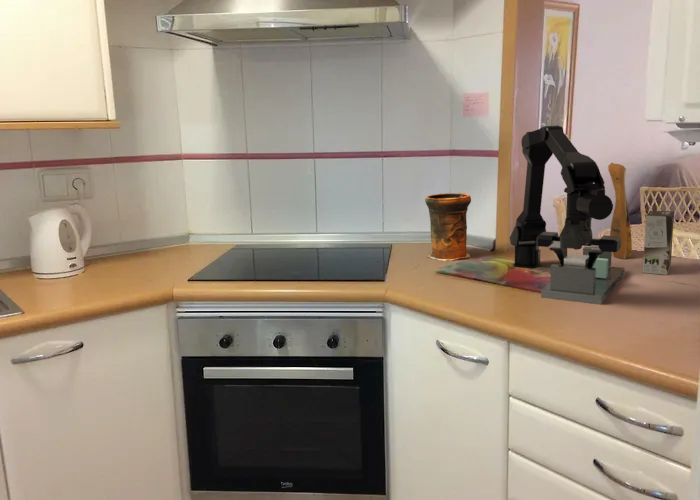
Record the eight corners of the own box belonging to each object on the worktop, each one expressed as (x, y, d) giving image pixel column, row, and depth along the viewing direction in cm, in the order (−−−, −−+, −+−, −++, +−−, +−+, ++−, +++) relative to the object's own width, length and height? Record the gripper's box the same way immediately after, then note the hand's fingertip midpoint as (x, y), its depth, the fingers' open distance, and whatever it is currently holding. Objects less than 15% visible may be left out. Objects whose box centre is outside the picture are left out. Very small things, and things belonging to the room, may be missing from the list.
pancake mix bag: (609, 260, 182) (613, 166, 176) (604, 246, 200) (608, 160, 194) (633, 260, 180) (639, 165, 174) (626, 247, 198) (631, 160, 191)
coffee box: (668, 275, 163) (672, 216, 160) (641, 273, 167) (645, 215, 163) (671, 267, 171) (675, 210, 168) (646, 265, 174) (649, 209, 171)
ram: (565, 274, 161) (566, 257, 160) (578, 262, 172) (579, 246, 171) (605, 278, 155) (606, 260, 154) (616, 265, 167) (617, 248, 166)
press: (541, 297, 150) (541, 265, 148) (571, 269, 174) (571, 242, 172) (601, 304, 142) (602, 271, 141) (624, 274, 166) (625, 246, 164)
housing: (563, 281, 149) (564, 258, 148) (568, 276, 153) (569, 253, 152) (584, 284, 146) (585, 260, 145) (589, 279, 151) (590, 255, 149)
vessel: (445, 263, 187) (444, 199, 183) (418, 256, 199) (416, 196, 195) (481, 256, 194) (480, 194, 190) (452, 250, 206) (451, 191, 202)
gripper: (529, 216, 145) (528, 279, 148) (613, 220, 135) (610, 288, 138) (543, 209, 154) (542, 268, 157) (623, 212, 144) (619, 276, 147)
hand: (576, 275), depth 150 cm, fingers closed on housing, 5 cm apart
